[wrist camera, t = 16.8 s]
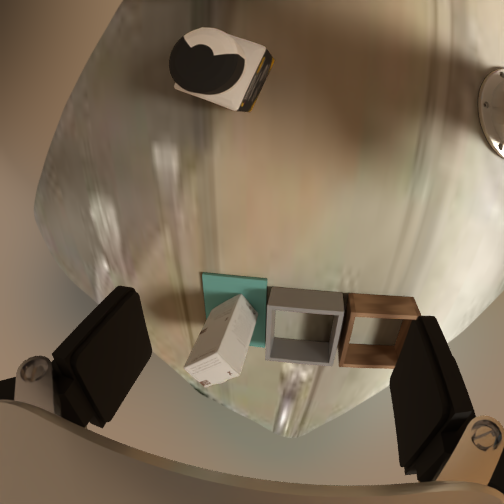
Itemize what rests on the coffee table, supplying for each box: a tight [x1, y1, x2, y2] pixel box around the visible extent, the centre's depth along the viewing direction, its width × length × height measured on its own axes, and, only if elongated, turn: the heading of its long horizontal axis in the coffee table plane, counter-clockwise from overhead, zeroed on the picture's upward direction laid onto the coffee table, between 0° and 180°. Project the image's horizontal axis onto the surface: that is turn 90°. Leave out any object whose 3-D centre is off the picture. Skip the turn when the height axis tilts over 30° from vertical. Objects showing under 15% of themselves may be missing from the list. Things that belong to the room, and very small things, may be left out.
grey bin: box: [265, 287, 344, 366], centre depth 41 cm, size 10×10×4 cm
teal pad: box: [202, 272, 267, 348], centre depth 45 cm, size 9×12×1 cm
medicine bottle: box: [169, 27, 274, 112], centre depth 26 cm, size 7×7×12 cm
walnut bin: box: [338, 293, 421, 369], centre depth 39 cm, size 10×10×4 cm
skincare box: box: [184, 294, 258, 387], centre depth 39 cm, size 6×4×12 cm
